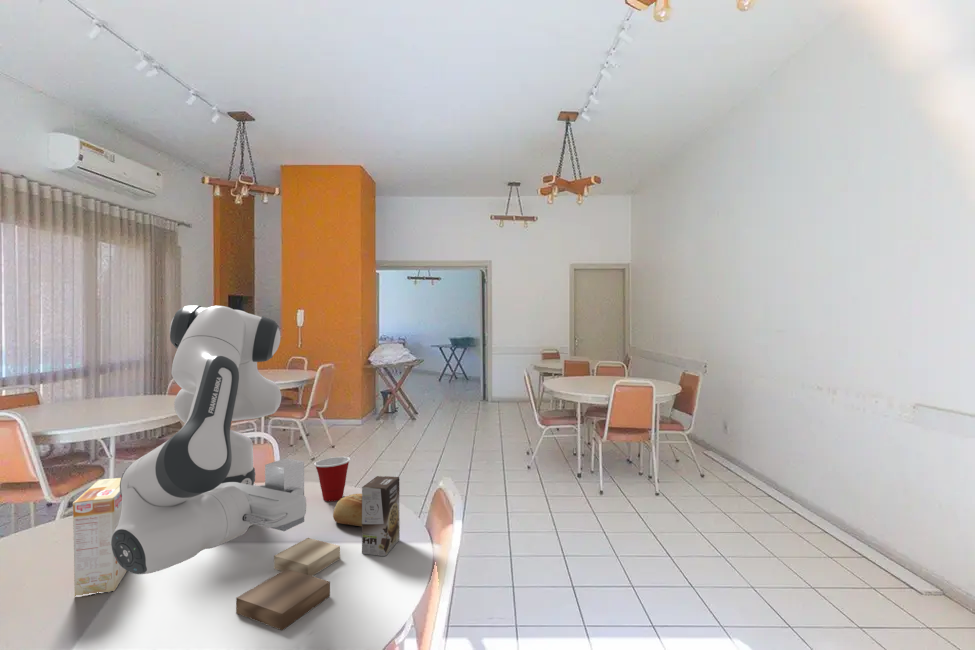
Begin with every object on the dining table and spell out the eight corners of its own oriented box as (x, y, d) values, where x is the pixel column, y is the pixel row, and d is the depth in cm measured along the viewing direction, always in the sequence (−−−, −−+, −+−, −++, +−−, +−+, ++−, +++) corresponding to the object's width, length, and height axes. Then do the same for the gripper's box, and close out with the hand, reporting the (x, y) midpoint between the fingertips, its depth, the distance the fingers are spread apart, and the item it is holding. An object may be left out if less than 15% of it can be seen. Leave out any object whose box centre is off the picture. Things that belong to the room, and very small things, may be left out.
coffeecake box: (98, 564, 113) (97, 479, 113) (136, 558, 116) (135, 475, 115) (72, 599, 99) (70, 502, 99) (115, 591, 102) (113, 497, 101)
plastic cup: (331, 490, 161) (330, 453, 161) (357, 495, 157) (357, 457, 157) (306, 501, 151) (306, 462, 151) (334, 507, 147) (333, 466, 147)
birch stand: (274, 569, 111) (274, 555, 111) (307, 550, 120) (307, 537, 120) (307, 579, 106) (307, 565, 106) (340, 558, 115) (340, 545, 115)
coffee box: (386, 556, 116) (386, 488, 116) (360, 554, 118) (360, 486, 117) (400, 539, 125) (400, 476, 125) (376, 537, 127) (376, 474, 126)
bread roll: (373, 535, 128) (373, 504, 128) (323, 528, 133) (323, 498, 132) (391, 520, 137) (391, 492, 137) (344, 514, 142) (344, 486, 142)
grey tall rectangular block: (265, 526, 96) (265, 464, 96) (285, 517, 100) (285, 458, 100) (284, 531, 94) (283, 467, 94) (304, 521, 98) (304, 461, 98)
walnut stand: (236, 613, 94) (236, 597, 94) (286, 582, 105) (286, 568, 105) (282, 630, 89) (282, 613, 89) (329, 596, 100) (329, 581, 100)
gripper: (268, 505, 81) (329, 480, 93) (187, 487, 89) (252, 467, 102) (268, 543, 81) (329, 514, 93) (187, 522, 90) (252, 497, 102)
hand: (288, 489), depth 98 cm, fingers closed on grey tall rectangular block, 5 cm apart
